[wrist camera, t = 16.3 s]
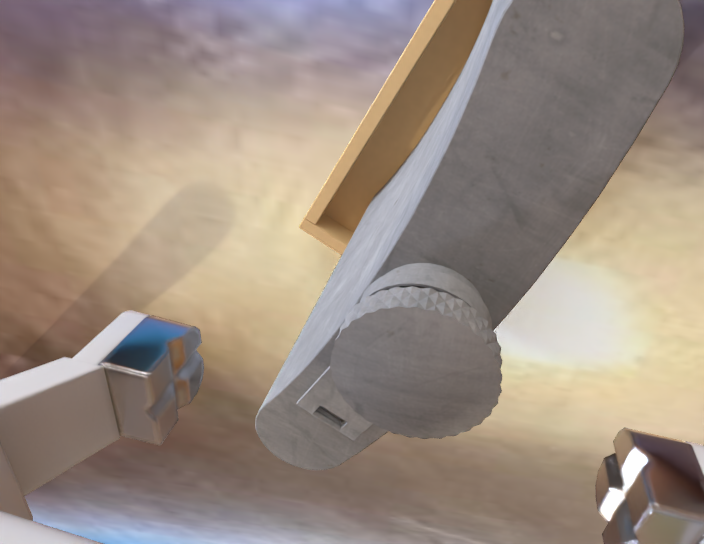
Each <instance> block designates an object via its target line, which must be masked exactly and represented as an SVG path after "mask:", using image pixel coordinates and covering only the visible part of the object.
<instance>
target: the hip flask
mask: <svg viewBox="0 0 704 544" xmlns="http://www.w3.org/2000/svg"><path fill="white" fill-rule="evenodd" d="M683 40H684V20H683V14H682V8H681V5H680V2H679V0H493V1H492V4H491V6H490V9H489V12H488V14H487V16H486V19H485V21H484V24H483V26H482V29H481V31H480V33H479V36H478V38H477V40H476V42H475V44H474V46H473V49H472V51H471V53H470V55H469V57H468V59H467V61H466V63H465V65H464V67H463V69H462V71H461V73H460V75H459V77H458V78H457V80H456V82H455V84H454V86H453V88H452V89H451V91H450V93H449V95H448V96H447V98H446V100H445V101H444V103H443V105H442V106H441V108H440V110H439V111H438V113H437V114H436V116H435V118H434V119H433V121H432V123H431V124H430V126H429V127H428V129H427V130H426V132H425V133H424V135H423V136H422V138H421V139H420V141H419V142H418V144H417V145H416V147H415V148H414V149H413V151H412V152H411V153H410V155H409V156H408V157H407V159H406V160H405V161H404V163H403V164H402V165H401V166H400V168H399V169H398V170H397V171H396V173H395V174H394V175H393V176H392V177H391V178H390V179H389V181H388V182H387V183H386V184H385V185H384V186H383V187H382V188H381V189H380V190H379V191H378V192H377V193H376V194H375V196H374V197H373V198H372V200H371V202H370V204H369V206H368V208H367V210H366V211H365V213H364V215H363V217H362V219H361V221H360V223H359V225H358V226H357V228H356V230H355V232H354V234H353V236H352V238H351V240H350V241H349V243H348V245H347V247H346V249H345V251H344V253H343V254H342V256H341V258H340V260H339V262H338V264H337V266H336V268H335V269H334V271H333V273H332V275H331V277H330V279H329V281H328V283H327V284H326V286H325V288H324V290H323V292H322V294H321V296H320V297H319V299H318V301H317V303H316V305H315V307H314V309H313V311H312V312H311V314H310V316H309V318H308V320H307V322H306V324H305V326H304V327H303V329H302V331H301V333H300V335H299V337H298V339H297V340H296V342H295V344H294V346H293V348H292V350H291V352H290V354H289V355H288V357H287V359H286V361H285V363H284V365H283V367H282V369H281V370H280V372H279V374H278V376H277V378H276V380H275V382H274V384H273V385H272V387H271V389H270V391H269V393H268V395H267V397H266V398H265V400H264V402H263V404H262V406H261V408H260V410H259V412H258V414H257V416H256V421H255V424H256V430H257V433H258V436H259V438H260V439H261V441H262V442H263V444H264V445H265V446H266V447H267V449H268V450H269V451H271V452H272V453H273V454H274V455H275V456H277V457H278V458H280V459H281V460H283V461H285V462H287V463H289V464H291V465H293V466H296V467H299V468H303V469H308V470H327V469H331V468H335V467H337V466H339V465H341V464H342V463H344V462H345V461H347V460H348V459H350V458H351V457H353V456H354V455H356V454H358V453H359V452H361V451H362V450H363V449H365V448H366V447H368V446H369V445H370V444H372V443H373V442H375V441H376V440H377V439H379V438H380V437H381V436H383V435H384V434H386V433H387V432H388V431H390V432H392V433H394V434H400V435H404V436H407V437H418V438H422V439H429V438H439V439H440V438H443V437H446V436H456V435H458V434H459V433H461V432H466V431H469V430H470V429H471V428H472V427H473V426H476V425H479V424H481V423H482V421H483V420H484V419H485V418H486V417H488V416H489V415H490V414H491V412H492V409H493V408H494V407H495V406H496V405H497V403H498V397H499V395H500V393H501V391H502V390H501V386H500V383H501V381H502V374H501V370H500V368H501V364H502V359H501V356H500V351H501V347H500V345H499V344H498V342H497V337H496V334H495V333H494V332H493V330H494V329H495V328H496V327H497V326H498V325H499V324H500V323H501V321H502V320H503V319H504V318H505V317H506V316H507V315H508V314H509V312H510V311H511V310H512V309H513V308H514V307H515V305H516V304H517V303H518V302H519V301H520V299H521V298H522V297H523V296H524V295H525V293H526V292H527V291H528V290H529V289H530V288H531V286H532V285H533V284H534V283H535V282H536V280H537V279H538V278H539V276H540V275H541V274H542V273H543V271H544V270H545V269H546V267H547V266H548V265H549V263H550V262H551V261H552V260H553V258H554V257H555V256H556V254H557V253H558V252H559V250H560V249H561V248H562V246H563V245H564V244H565V243H566V241H567V240H568V239H569V237H570V236H571V234H572V233H573V232H574V230H575V229H576V227H577V226H578V225H579V223H580V222H581V220H582V219H583V218H584V216H585V215H586V213H587V212H588V211H589V209H590V208H591V207H592V205H593V204H594V202H595V201H596V200H597V198H598V197H599V195H600V194H601V192H602V191H603V189H604V188H605V186H606V185H607V183H608V181H609V180H610V178H611V177H612V175H613V174H614V172H615V171H616V169H617V168H618V166H619V165H620V163H621V161H622V160H623V158H624V157H625V155H626V154H627V152H628V151H629V149H630V148H631V146H632V145H633V143H634V141H635V140H636V138H637V136H638V135H639V133H640V131H641V130H642V128H643V126H644V125H645V123H646V122H647V120H648V118H649V117H650V115H651V113H652V112H653V110H654V108H655V107H656V105H657V103H658V102H659V100H660V98H661V97H662V95H663V93H664V92H665V90H666V88H667V87H668V85H669V83H670V81H671V79H672V77H673V75H674V73H675V71H676V68H677V66H678V64H679V60H680V56H681V52H682V48H683Z"/></svg>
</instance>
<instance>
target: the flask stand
mask: <svg viewBox="0 0 704 544" xmlns="http://www.w3.org/2000/svg"><path fill="white" fill-rule="evenodd" d="M492 1H493V0H434V2H433V3H432V5H431V7H430V8H429V10H428V12H427V13H426V15H425V17H424V18H423V20H422V22H421V23H420V25H419V27H418V29H417V30H416V32H415V34H414V35H413V37H412V39H411V40H410V42H409V44H408V45H407V47H406V49H405V50H404V52H403V54H402V55H401V57H400V59H399V60H398V62H397V64H396V65H395V67H394V69H393V70H392V72H391V74H390V75H389V77H388V79H387V80H386V82H385V84H384V85H383V87H382V89H381V90H380V92H379V94H378V95H377V97H376V99H375V100H374V102H373V104H372V105H371V107H370V109H369V110H368V112H367V114H366V115H365V117H364V119H363V120H362V122H361V124H360V125H359V127H358V129H357V130H356V132H355V134H354V135H353V137H352V139H351V140H350V142H349V144H348V145H347V147H346V149H345V150H344V152H343V154H342V155H341V157H340V159H339V160H338V162H337V164H336V165H335V167H334V169H333V170H332V172H331V174H330V175H329V177H328V179H327V180H326V182H325V184H324V185H323V187H322V189H321V190H320V192H319V194H318V195H317V197H316V199H315V200H314V202H313V204H312V205H311V207H310V209H309V210H308V212H307V214H306V215H305V217H304V219H303V220H302V222H301V224H300V225H299V228H300V229H302V230H303V231H305V232H307V233H308V234H310V235H311V236H313V237H314V238H316V239H317V240H319V241H320V242H322V243H324V244H325V245H327V246H328V247H330V248H331V249H333V250H334V251H336V252H337V253H339V254H341V255H342V254H343V253H344V251H345V249H346V247H347V245H348V243H349V241H350V240H351V238H352V236H353V234H354V232H355V230H356V228H357V226H358V225H359V223H360V221H361V219H362V217H363V215H364V213H365V211H366V210H367V208H368V206H369V204H370V202H371V200H372V198H373V197H374V196H375V194H376V193H377V192H378V191H379V190H380V189H381V188H382V187H383V186H384V185H385V184H386V183H387V182H388V181H389V179H390V178H391V177H392V176H393V175H394V174H395V173H396V171H397V170H398V169H399V168H400V166H401V165H402V164H403V163H404V161H405V160H406V159H407V157H408V156H409V155H410V153H411V152H412V151H413V149H414V148H415V147H416V145H417V144H418V142H419V141H420V139H421V138H422V136H423V135H424V133H425V132H426V130H427V129H428V127H429V126H430V124H431V123H432V121H433V119H434V118H435V116H436V114H437V113H438V111H439V110H440V108H441V106H442V105H443V103H444V101H445V100H446V98H447V96H448V95H449V93H450V91H451V89H452V88H453V86H454V84H455V82H456V80H457V78H458V77H459V75H460V73H461V71H462V69H463V67H464V65H465V63H466V61H467V59H468V57H469V55H470V53H471V51H472V49H473V46H474V44H475V42H476V40H477V38H478V36H479V33H480V31H481V29H482V26H483V24H484V21H485V19H486V16H487V14H488V12H489V9H490V6H491V4H492Z"/></svg>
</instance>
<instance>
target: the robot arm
mask: <svg viewBox="0 0 704 544" xmlns="http://www.w3.org/2000/svg"><path fill="white" fill-rule="evenodd" d="M201 343H202V342H201V335H200V330H199V329H198V328H196V327H195V326H191V325H187V324H184V323H180V322H176V321H172V320H168V319H165V318H161V317H157V316H153V315H147V314H143V313H140V312H136V311H132V310H129V311H125V312H123V313H121V314H120V315H119V316H118V317H117V318H116V319H115V320H114V321H113V322H111V323H110V324H109V325H108V326H107V327H106V328H105V329H104V330H103V331H102V332H100V333H99V334H98V335H97V336H96V337H95V338H94V339H93V340H92V341H91V342H90V343H88V344H87V345H86V346H85V347H84V348H83V349H82V350H81V351H80V352H79V353H77V354H76V355H75V356H74V357H73V358H67V357H63V358H61V359H58V360H55V361H52V362H50V363H47V364H44V365H41V366H38V367H36V368H33V369H30V370H27V371H24V372H22V373H19V374H16V375H13V376H10V377H8V378H5V379H2V380H0V544H103V543H99V542H96V541H93V540H90V539H87V538H84V537H81V536H78V535H74V534H71V533H68V532H65V531H62V530H59V529H56V528H53V527H49V526H46V525H43V524H40V523H37V522H34V521H33V516H32V514H31V511H30V509H29V507H28V504H27V502H26V500H25V497H24V496H25V495H27V494H29V493H30V492H32V491H34V490H35V489H37V488H39V487H40V486H42V485H43V484H45V483H47V482H48V481H50V480H52V479H53V478H55V477H57V476H58V475H60V474H62V473H63V472H65V471H67V470H68V469H70V468H72V467H73V466H75V465H77V464H78V463H80V462H81V461H83V460H85V459H86V458H88V457H90V456H91V455H93V454H95V453H96V452H98V451H100V450H101V449H103V448H105V447H106V446H108V445H110V444H111V443H113V442H114V441H116V440H118V439H119V438H120V436H124V437H128V438H132V439H136V440H140V441H144V442H148V443H152V444H156V445H161V444H162V442H163V441H164V439H165V438H166V437H167V435H168V434H169V432H170V431H171V430H172V428H173V427H174V425H175V424H176V423H177V421H178V412H177V410H178V409H180V408H182V407H184V406H186V405H188V404H190V403H191V401H192V400H193V398H194V397H195V395H196V394H197V392H198V390H199V387H200V384H201V382H202V379H203V371H204V364H203V358H202V357H201V356H200V354H199V353H198V352H197V351H196V349H197V348H198V347H199V345H200V344H201ZM613 443H614V448H615V452H616V453H614V454H612V455H610V456H608V457H605V458H604V460H603V462H602V464H601V466H600V468H599V470H598V474H597V480H596V485H595V486H596V502H597V509H598V511H599V513H600V514H601V515H602V516H603V517H604V519H605V520H606V521H607V522H608V525H607V526H606V528H605V530H604V531H603V533H602V536H603V542H604V544H704V445H701V444H696V443H692V442H687V441H685V442H684V441H682V440H677V439H673V438H668V437H664V436H660V435H655V434H651V433H646V432H642V431H638V430H633V429H629V428H623V429H622V430H620V431H619V432H618V434H617V436H616V437H615V439H614V441H613Z"/></svg>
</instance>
